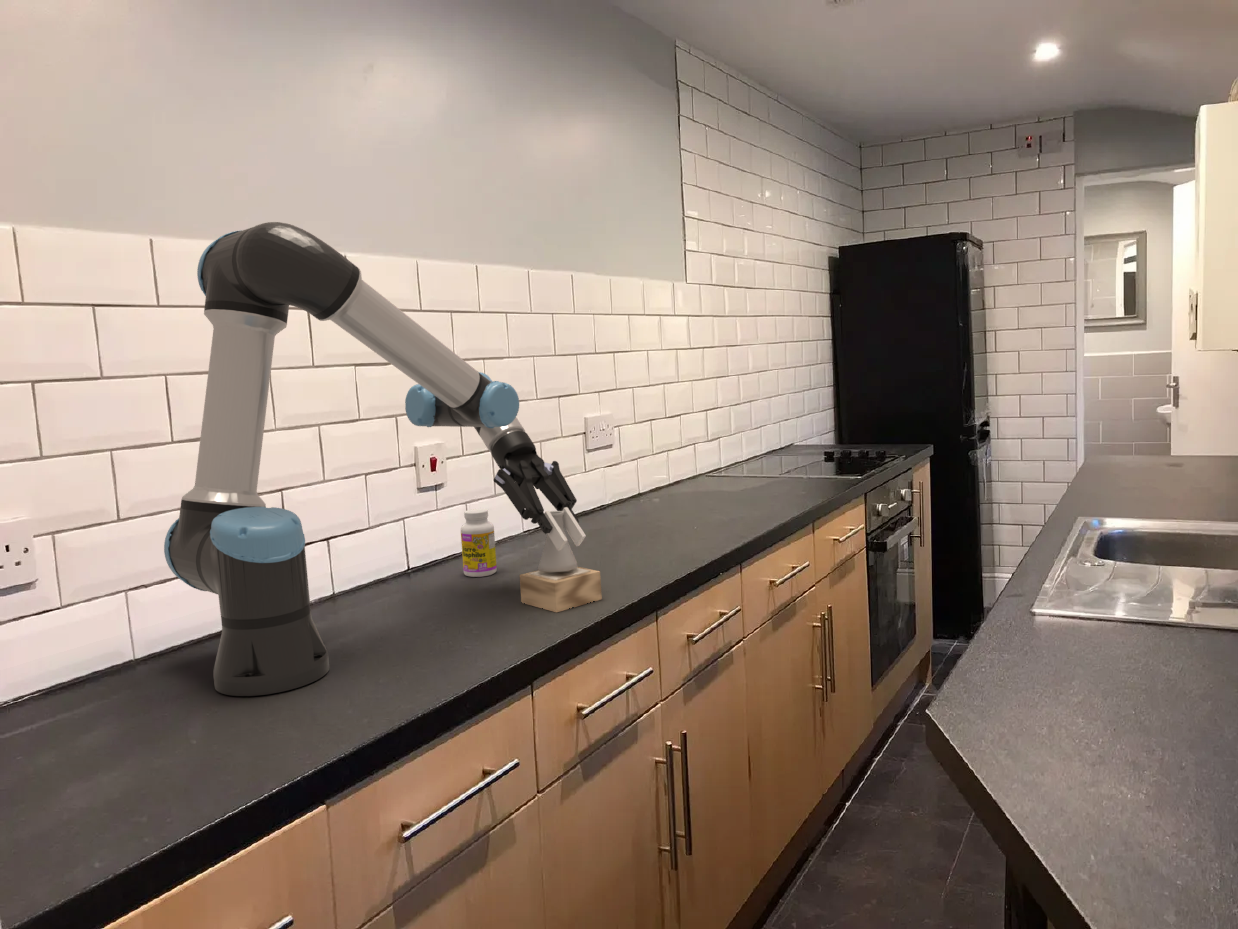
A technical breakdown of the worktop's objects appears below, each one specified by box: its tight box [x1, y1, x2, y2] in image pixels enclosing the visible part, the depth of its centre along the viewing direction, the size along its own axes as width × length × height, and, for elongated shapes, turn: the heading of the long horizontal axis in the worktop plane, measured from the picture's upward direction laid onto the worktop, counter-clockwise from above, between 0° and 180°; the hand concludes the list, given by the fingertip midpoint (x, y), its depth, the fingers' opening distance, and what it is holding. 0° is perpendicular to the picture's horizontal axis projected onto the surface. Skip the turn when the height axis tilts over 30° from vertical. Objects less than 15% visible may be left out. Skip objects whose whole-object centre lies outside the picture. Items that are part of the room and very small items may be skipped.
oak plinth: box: [519, 566, 603, 613], centre depth 159 cm, size 10×10×5 cm
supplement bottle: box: [460, 508, 498, 578], centre depth 183 cm, size 7×7×13 cm
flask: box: [536, 510, 579, 572], centre depth 158 cm, size 7×7×10 cm
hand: (571, 543), depth 155 cm, fingers closed on flask, 3 cm apart
